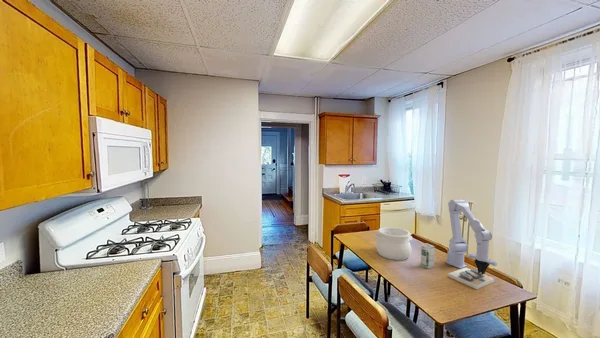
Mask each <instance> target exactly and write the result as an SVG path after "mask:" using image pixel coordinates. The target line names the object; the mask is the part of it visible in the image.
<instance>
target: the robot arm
mask: <svg viewBox="0 0 600 338" xmlns="http://www.w3.org/2000/svg"><path fill="white" fill-rule="evenodd" d="M448 211H449V217H450V227H451V234H452V238H450V239H449V241H448V242H449V243H448V249H449V250H448V251H447V253H446V262H445V264H448V265H451V266H453V267H455V268H458V269H463V268H467V267H468V265H467V264H465V254H466V253H467V251H468V250H469V245H468V244H467V240H466V239H465V238H464V237H463V235H462V234H463V233H462V227H461V219H460V213H462V214H463V215H464V216H465V217H466V219H467V220H468V221H469V222H468V225H469V226H470V228H471V229H472V231H473V232H474V238H475V242H476V253H475V254H474V253H468V258H471V259H474V261H473V262H474V264H475V266H476V268H477V269H476V270H478V272H479V273H480V272H482V274H484V275H486V271H487V269H488V267H489V266H490V265H491V266H493V267H498V262H497V261H494V260H492V259H490V258H489V253H490V251H489V249H490V248H489V247H490V241H491V240H492V238H493V234H492V233H491V231H490V230H488V229H487V228H485V227H484V225H483V224H482V222H481V221H480V219H477V218H475V216H474V214H473V212H472V211H471V209H470V204H469V203H468V201H467V200H466V199H464V198H463V199H450V200H449V201H448Z"/></svg>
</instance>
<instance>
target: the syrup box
mask: <svg viewBox="0 0 600 338" xmlns="http://www.w3.org/2000/svg"><path fill="white" fill-rule="evenodd" d="M420 249H421V250H420V266H422V267H424V268H426V269H432V268H434V265H435V264H434V263H435V246H434V245H433V244H429V243H422V244H421V247H420Z"/></svg>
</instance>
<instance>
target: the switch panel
mask: <svg viewBox="0 0 600 338" xmlns="http://www.w3.org/2000/svg"><path fill="white" fill-rule="evenodd" d="M471 269H472V268H469V267H463V268H459V269H457V270H454V271H452V272H448V274H447V277H448V278H450V279H453V280H455V281H458V282H460V283H461V284H463V285H466V286H468V287H471V288H473V289H474V290H478V289H480V288H483V287H485V286H487V285H491V284H493V283H495V277H491V276H488V275H487V274H483V275H479V274H477V275H479V277H477V278H474V277H473V278H474V279H472V280H468V279H467V278H465V277H463V276H462V275H460V274H459V273H460V272H463V271H464V272H465V271H466V270H471ZM465 273H466V272H465ZM468 275H469V274H468ZM470 276H471V275H470Z"/></svg>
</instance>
